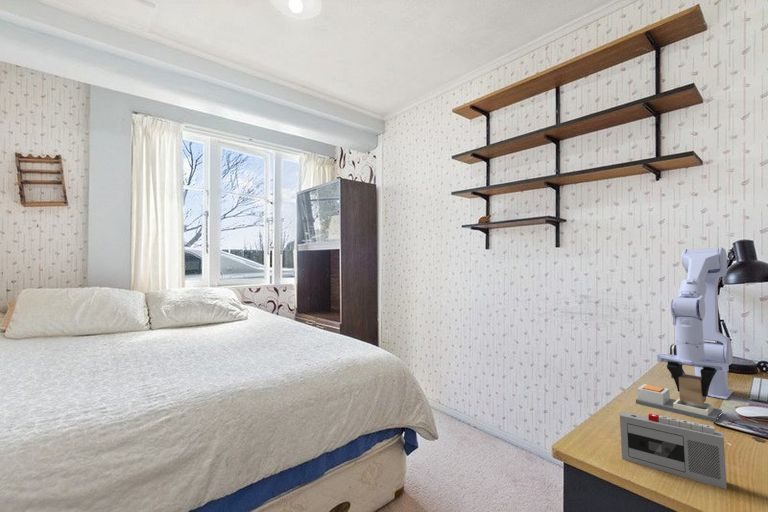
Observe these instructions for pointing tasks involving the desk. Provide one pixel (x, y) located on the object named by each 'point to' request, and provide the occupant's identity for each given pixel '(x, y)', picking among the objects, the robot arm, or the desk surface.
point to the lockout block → (691, 389)
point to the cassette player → (674, 447)
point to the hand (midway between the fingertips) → (692, 393)
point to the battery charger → (674, 352)
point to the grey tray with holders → (677, 404)
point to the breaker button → (653, 388)
